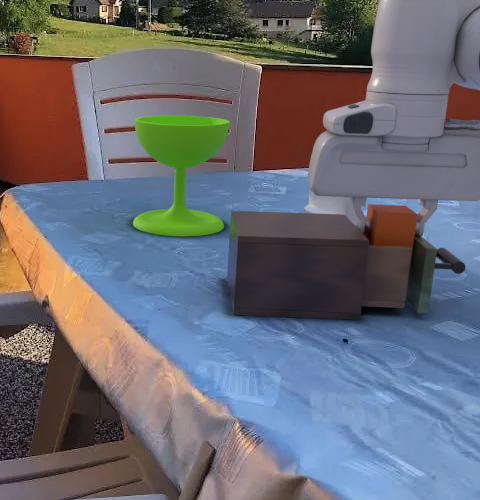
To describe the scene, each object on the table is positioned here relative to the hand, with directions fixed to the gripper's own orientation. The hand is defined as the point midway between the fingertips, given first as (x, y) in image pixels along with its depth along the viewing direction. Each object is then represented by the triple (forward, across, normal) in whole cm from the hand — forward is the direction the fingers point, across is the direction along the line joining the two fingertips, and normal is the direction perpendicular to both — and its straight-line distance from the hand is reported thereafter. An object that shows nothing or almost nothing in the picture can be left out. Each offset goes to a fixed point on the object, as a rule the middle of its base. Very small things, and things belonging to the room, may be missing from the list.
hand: (388, 234), depth 85 cm
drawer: (+8, +1, 0) cm, 8 cm away
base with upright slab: (+9, +1, -25) cm, 27 cm away
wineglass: (+9, +25, -36) cm, 45 cm away
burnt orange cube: (+2, 0, 0) cm, 2 cm away
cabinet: (+9, +11, 0) cm, 14 cm away
